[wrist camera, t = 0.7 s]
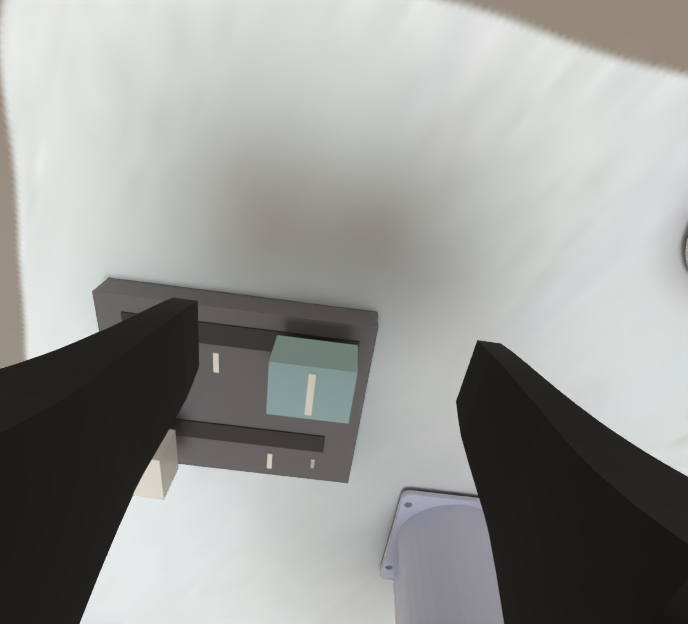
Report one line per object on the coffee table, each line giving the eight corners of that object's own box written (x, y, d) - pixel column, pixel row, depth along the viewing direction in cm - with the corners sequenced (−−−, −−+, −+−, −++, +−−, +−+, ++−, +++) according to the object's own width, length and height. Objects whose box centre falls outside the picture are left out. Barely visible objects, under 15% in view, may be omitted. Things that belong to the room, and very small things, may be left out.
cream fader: (186, 450, 25) (162, 501, 22) (122, 443, 24) (90, 493, 22) (183, 413, 23) (158, 462, 20) (115, 405, 23) (80, 453, 20)
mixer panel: (348, 463, 27) (347, 484, 26) (132, 438, 27) (120, 458, 25) (376, 312, 22) (378, 328, 21) (108, 278, 22) (91, 292, 20)
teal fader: (349, 378, 22) (348, 425, 19) (278, 369, 22) (265, 415, 19) (358, 331, 20) (357, 374, 17) (281, 321, 20) (268, 362, 17)
